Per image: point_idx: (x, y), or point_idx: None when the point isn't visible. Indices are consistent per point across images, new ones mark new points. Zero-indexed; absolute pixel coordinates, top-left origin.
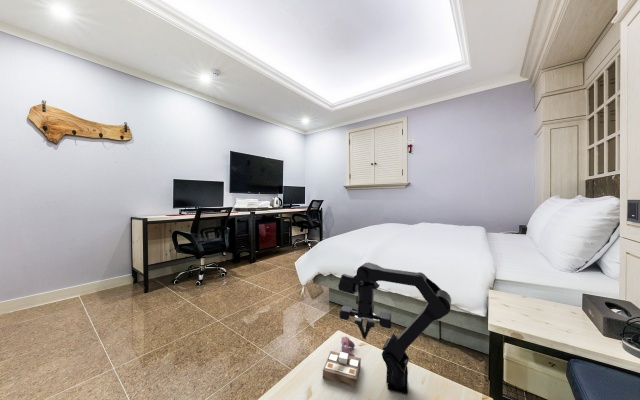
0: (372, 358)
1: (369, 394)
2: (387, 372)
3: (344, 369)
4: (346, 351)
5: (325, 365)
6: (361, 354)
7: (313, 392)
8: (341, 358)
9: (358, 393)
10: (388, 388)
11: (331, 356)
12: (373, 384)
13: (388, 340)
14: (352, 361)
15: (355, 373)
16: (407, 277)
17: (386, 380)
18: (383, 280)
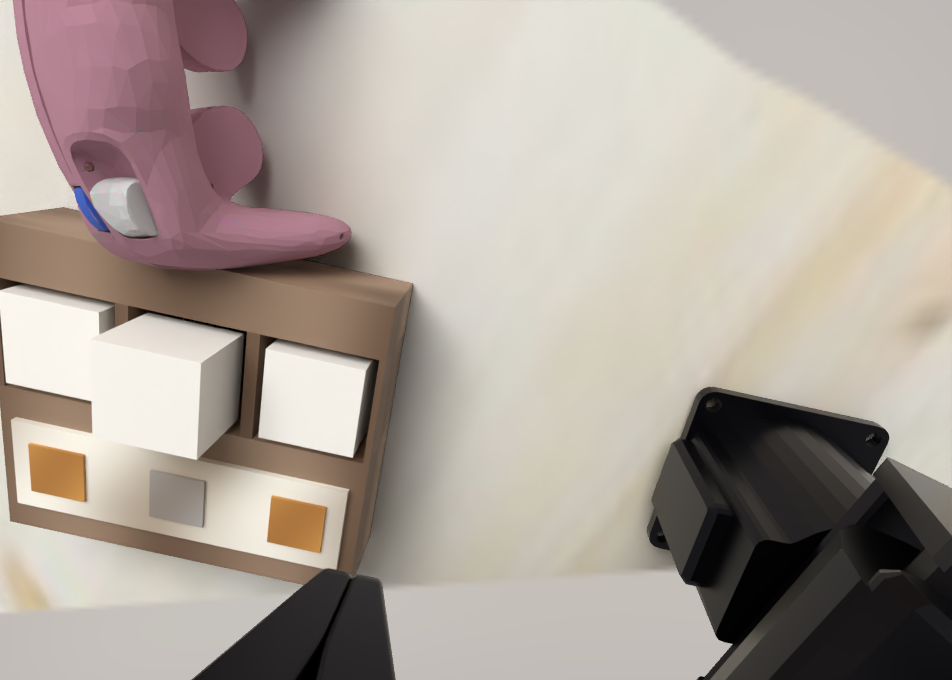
0: (573, 129)
1: (477, 582)
2: (687, 582)
3: (217, 506)
4: (179, 263)
5: (13, 463)
6: (431, 68)
7: (55, 595)
8: (133, 441)
9: (389, 580)
10: (653, 543)
11: (23, 338)
12: (525, 493)
13: None
14: (290, 390)
15: (335, 546)
16: None
17: (656, 512)
18: None
